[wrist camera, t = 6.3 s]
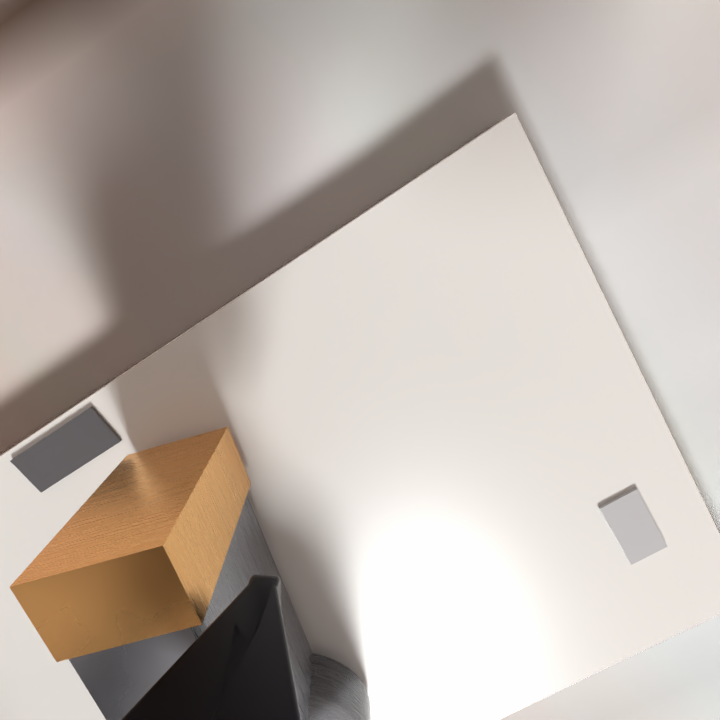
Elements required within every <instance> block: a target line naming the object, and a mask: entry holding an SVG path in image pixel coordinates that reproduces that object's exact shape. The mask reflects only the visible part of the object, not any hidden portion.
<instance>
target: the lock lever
mask: <svg viewBox="0 0 720 720" xmlns="http://www.w3.org/2000/svg"><path fill="white" fill-rule="evenodd" d="M250 485H251V482H250V479H249V477H248V475H247V472H246V470H245V467H244V465H243V462H242V460H241V458H240V455H239V453H238V450H237V448H236V445H235V443H234V440H233V438H232V436H231V433H230V431H229V428H228V427H224V428H221V429H217V430H214V431H210V432H207V433H203V434H200V435H196V436H193V437H189V438H185V439H182V440H178V441H175V442H171V443H168V444H164V445H161V446H157V447H154V448H150V449H147V450H143V451H140V452H136V453H132V454H129V455H127V456H126V457H125V458H124V459H123V460H122V461H121V462H120V464H119V465H118V466H117V467H116V468H115V469H114V470H113V471H112V473H111V474H110V475H109V476H108V477H107V478H106V479H105V480H104V481H103V483H102V484H101V485H100V486H99V487H98V488H97V489H96V490H95V492H94V493H93V494H92V495H91V496H90V497H89V498H88V499H87V501H86V502H85V503H84V504H83V505H82V506H81V507H80V508H79V510H78V511H77V512H76V513H75V514H74V515H73V516H72V517H71V518H70V520H69V521H68V522H67V523H66V524H65V525H64V526H63V527H62V529H61V530H60V531H59V532H58V533H57V534H56V535H55V536H54V538H53V539H52V540H51V541H50V542H49V543H48V544H47V545H46V546H45V548H44V549H43V550H42V551H41V552H40V553H39V554H38V555H37V557H36V558H35V559H34V560H33V561H32V562H31V563H30V564H29V566H28V567H27V568H26V569H25V570H24V571H23V572H22V573H21V575H20V576H19V577H18V578H17V579H16V580H15V581H14V582H13V583H12V585H11V586H10V587H9V588H10V589H11V591H12V592H13V594H14V595H15V597H16V599H17V600H18V602H19V603H20V605H21V607H22V608H23V610H24V611H25V613H26V615H27V616H28V618H29V619H30V621H31V622H32V624H33V626H34V627H35V629H36V630H37V632H38V634H39V635H40V637H41V638H42V640H43V641H44V643H45V645H46V646H47V648H48V649H49V651H50V653H51V654H52V656H53V657H54V659H55V661H56V662H60V661H64V660H67V659H69V661H70V662H71V664H72V666H73V667H74V669H75V670H76V672H77V674H78V675H79V677H80V679H81V680H82V682H83V683H84V685H85V687H86V688H87V690H88V691H89V693H90V695H91V696H92V698H93V700H94V701H95V703H96V704H97V706H98V708H99V709H100V711H101V712H102V714H103V716H104V717H105V719H106V720H121V719H122V718H123V717H124V716H125V715H126V714H127V713H128V712H129V711H130V710H131V709H132V708H133V707H134V706H135V705H136V703H137V702H138V701H139V700H140V699H141V698H142V697H143V696H144V695H145V694H146V693H147V692H148V691H149V690H150V689H151V687H152V686H153V685H154V684H155V683H156V682H157V681H158V680H159V679H160V678H161V677H162V676H163V675H164V674H165V673H166V671H167V670H168V669H169V668H170V667H171V666H172V665H173V664H174V663H175V662H176V661H177V660H178V659H179V658H180V657H181V656H182V654H183V653H184V652H185V651H186V650H187V649H188V648H189V647H190V646H191V645H192V644H193V643H194V642H195V641H196V640H197V638H198V637H199V636H200V635H201V634H202V633H203V632H204V631H205V630H206V629H207V628H208V627H209V626H210V625H211V624H212V622H213V621H214V620H215V619H216V618H217V617H218V616H219V615H220V614H221V613H222V612H223V611H224V610H225V609H226V608H227V606H228V605H229V604H230V603H231V602H232V601H233V600H234V599H235V598H236V597H237V596H238V595H239V594H240V593H241V592H242V590H243V589H244V588H245V587H246V586H247V585H248V583H249V580H250V578H251V577H252V576H253V575H254V574H261V575H277V576H279V577H280V579H281V611H282V617H283V622H284V628H285V633H286V639H287V644H288V650H289V655H290V661H291V666H292V672H293V677H294V683H295V688H296V694H297V699H298V705H299V710H300V716H301V720H371V714H370V700H369V695H368V692H367V690H366V688H365V686H364V684H363V682H362V681H361V680H360V678H359V677H358V676H357V675H356V674H355V673H354V672H353V671H352V670H351V669H349V668H348V667H347V666H345V665H343V664H342V663H340V662H338V661H336V660H334V659H332V658H329V657H326V656H323V655H318V654H314V653H312V650H311V648H310V645H309V643H308V641H307V638H306V636H305V633H304V631H303V629H302V626H301V624H300V621H299V619H298V617H297V614H296V612H295V609H294V607H293V605H292V602H291V600H290V597H289V595H288V593H287V590H286V588H285V585H284V583H283V581H282V578H281V576H280V573H279V571H278V569H277V566H276V564H275V561H274V559H273V557H272V554H271V552H270V549H269V547H268V545H267V542H266V540H265V537H264V535H263V533H262V530H261V528H260V525H259V523H258V521H257V518H256V516H255V513H254V511H253V509H252V506H251V504H250V501H249V499H248V497H247V493H248V491H249V488H250Z"/></svg>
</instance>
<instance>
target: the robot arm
mask: <svg viewBox="0 0 720 720" xmlns="http://www.w3.org/2000/svg"><path fill="white" fill-rule="evenodd" d="M121 720H301V716H300V710H299V705H298V699H297V694H296V688H295V683H294V677H293V672H292V666H291V661H290V655H289V650H288V644H287V639H286V633H285V628H284V622H283V617H282V611H281V579H280V577H279V576H277V575H261V574H254V575H253V576H252V577H251V578H250V580H249V583H248V585H247V586H246V587H245V588H244V589H243V590H242V592H241V593H240V594H239V595H238V596H237V597H236V598H235V599H234V600H233V601H232V602H231V603H230V604H229V605H228V606H227V608H226V609H225V610H224V611H223V612H222V613H221V614H220V615H219V616H218V617H217V618H216V619H215V620H214V621H213V622H212V624H211V625H210V626H209V627H208V628H207V629H206V630H205V631H204V632H203V633H202V634H201V635H200V636H199V637H198V638H197V640H196V641H195V642H194V643H193V644H192V645H191V646H190V647H189V648H188V649H187V650H186V651H185V652H184V653H183V654H182V656H181V657H180V658H179V659H178V660H177V661H176V662H175V663H174V664H173V665H172V666H171V667H170V668H169V669H168V670H167V671H166V673H165V674H164V675H163V676H162V677H161V678H160V679H159V680H158V681H157V682H156V683H155V684H154V685H153V686H152V687H151V689H150V690H149V691H148V692H147V693H146V694H145V695H144V696H143V697H142V698H141V699H140V700H139V701H138V702H137V703H136V705H135V706H134V707H133V708H132V709H131V710H130V711H129V712H128V713H127V714H126V715H125V716H124V717H123V718H122V719H121Z"/></svg>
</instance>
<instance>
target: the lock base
mask: <svg viewBox="0 0 720 720" xmlns="http://www.w3.org/2000/svg"><path fill="white" fill-rule="evenodd" d="M224 427H228V428H229V431H230V433H231V436H232V438H233V440H234V443H235V445H236V448H237V450H238V453H239V455H240V458H241V460H242V462H243V465H244V467H245V470H246V472H247V475H248V477H249V479H250V482H251V485H250V488H249V491H248V493H247V497H248V499H249V501H250V504H251V506H252V509H253V511H254V513H255V516H256V518H257V521H258V523H259V525H260V528H261V530H262V533H263V535H264V537H265V540H266V542H267V545H268V547H269V549H270V552H271V554H272V557H273V559H274V561H275V564H276V566H277V569H278V571H279V573H280V576H281V578H282V581H283V583H284V585H285V588H286V590H287V593H288V595H289V597H290V600H291V602H292V605H293V607H294V609H295V612H296V614H297V617H298V619H299V621H300V624H301V626H302V629H303V631H304V633H305V636H306V638H307V641H308V643H309V645H310V648H311V650H312V653H314V654H318V655H323V656H326V657H329V658H332V659H334V660H336V661H338V662H340V663H342V664H343V665H345V666H347V667H348V668H349V669H351V670H352V671H353V672H354V673H355V674H356V675H357V676H358V677H359V678H360V680H361V681H362V682H363V684H364V686H365V688H366V690H367V692H368V695H369V700H370V714H371V720H500V719H502V718H504V717H506V716H508V715H510V714H512V713H514V712H516V711H519V710H521V709H523V708H525V707H527V706H529V705H531V704H533V703H535V702H537V701H540V700H542V699H544V698H546V697H548V696H550V695H552V694H554V693H556V692H558V691H561V690H563V689H565V688H567V687H569V686H571V685H573V684H575V683H577V682H579V681H581V680H584V679H586V678H588V677H590V676H592V675H594V674H596V673H598V672H600V671H602V670H605V669H607V668H609V667H611V666H613V665H615V664H617V663H619V662H621V661H623V660H626V659H628V658H630V657H632V656H634V655H636V654H638V653H640V652H642V651H644V650H646V649H649V648H651V647H653V646H655V645H657V644H659V643H661V642H663V641H665V640H667V639H670V638H672V637H674V636H676V635H678V634H680V633H682V632H684V631H686V630H688V629H691V628H693V627H695V626H697V625H699V624H701V623H703V622H705V621H707V620H709V619H711V618H714V617H716V616H718V615H720V533H719V531H718V529H717V527H716V525H715V523H714V521H713V519H712V517H711V515H710V513H709V511H708V509H707V506H706V504H705V502H704V500H703V498H702V496H701V494H700V492H699V490H698V488H697V486H696V484H695V482H694V480H693V478H692V476H691V473H690V471H689V469H688V467H687V465H686V463H685V461H684V459H683V457H682V455H681V453H680V451H679V449H678V447H677V445H676V443H675V441H674V438H673V436H672V434H671V432H670V430H669V428H668V426H667V424H666V422H665V420H664V418H663V416H662V414H661V412H660V410H659V408H658V406H657V403H656V401H655V399H654V397H653V395H652V393H651V391H650V389H649V387H648V385H647V383H646V381H645V379H644V377H643V375H642V373H641V370H640V368H639V366H638V364H637V362H636V360H635V358H634V356H633V354H632V352H631V350H630V348H629V346H628V344H627V342H626V340H625V338H624V335H623V333H622V331H621V329H620V327H619V325H618V323H617V321H616V319H615V317H614V315H613V313H612V311H611V309H610V307H609V305H608V303H607V300H606V298H605V296H604V294H603V292H602V290H601V288H600V286H599V284H598V282H597V280H596V278H595V276H594V274H593V272H592V270H591V267H590V265H589V263H588V261H587V259H586V257H585V255H584V253H583V251H582V249H581V247H580V245H579V243H578V241H577V239H576V237H575V235H574V232H573V230H572V228H571V226H570V224H569V222H568V220H567V218H566V216H565V214H564V212H563V210H562V208H561V206H560V204H559V202H558V200H557V197H556V195H555V193H554V191H553V189H552V187H551V185H550V183H549V181H548V179H547V177H546V175H545V173H544V171H543V169H542V167H541V164H540V162H539V160H538V158H537V156H536V154H535V152H534V150H533V148H532V146H531V144H530V142H529V140H528V138H527V136H526V134H525V132H524V129H523V127H522V125H521V123H520V121H519V119H518V117H517V115H516V113H514V114H512V115H510V116H508V117H507V118H505V119H503V120H501V121H500V122H498V123H497V124H495V125H494V126H492V127H491V128H489V129H488V130H486V131H485V132H483V133H482V134H480V135H479V136H477V137H476V138H474V139H473V140H471V141H470V142H468V143H467V144H465V145H464V146H462V147H461V148H459V149H458V150H456V151H455V152H453V153H452V154H450V155H449V156H447V157H446V158H444V159H443V160H441V161H440V162H438V163H437V164H435V165H434V166H432V167H431V168H429V169H428V170H426V171H425V172H423V173H422V174H420V175H419V176H417V177H416V178H414V179H413V180H411V181H410V182H408V183H407V184H405V185H404V186H402V187H401V188H399V189H398V190H396V191H395V192H393V193H392V194H390V195H389V196H387V197H386V198H384V199H383V200H381V201H380V202H378V203H377V204H375V205H374V206H372V207H371V208H369V209H368V210H366V211H365V212H363V213H362V214H360V215H359V216H357V217H356V218H354V219H353V220H351V221H350V222H349V223H347V224H346V225H344V226H343V227H341V228H340V229H338V230H337V231H335V232H334V233H332V234H331V235H329V236H328V237H326V238H325V239H323V240H322V241H320V242H319V243H317V244H316V245H314V246H313V247H311V248H310V249H308V250H307V251H305V252H304V253H302V254H301V255H299V256H298V257H296V258H295V259H293V260H292V261H290V262H289V263H287V264H286V265H284V266H283V267H281V268H280V269H278V270H277V271H275V272H274V273H272V274H271V275H269V276H268V277H266V278H265V279H263V280H262V281H260V282H259V283H257V284H256V285H254V286H253V287H251V288H250V289H248V290H247V291H245V292H244V293H242V294H241V295H239V296H238V297H236V298H235V299H233V300H232V301H230V302H229V303H227V304H226V305H224V306H223V307H221V308H220V309H218V310H217V311H215V312H214V313H212V314H211V315H209V316H208V317H206V318H205V319H203V320H202V321H200V322H199V323H197V324H196V325H194V326H193V327H191V328H190V329H188V330H187V331H185V332H184V333H182V334H181V335H179V336H178V337H176V338H175V339H173V340H172V341H170V342H169V343H167V344H166V345H164V346H163V347H161V348H160V349H158V350H157V351H155V352H154V353H152V354H151V355H149V356H148V357H146V358H145V359H144V360H142V361H141V362H139V363H138V364H136V365H135V366H133V367H132V368H130V369H129V370H127V371H126V372H124V373H123V374H121V375H120V376H118V377H117V378H115V379H114V380H112V381H111V382H109V383H108V384H106V385H105V386H103V387H102V388H100V389H99V390H97V391H96V392H94V393H93V394H91V395H90V396H88V397H87V398H85V399H84V400H82V401H81V402H79V403H78V404H76V405H75V406H73V407H72V408H70V409H69V410H67V411H66V412H64V413H63V414H61V415H60V416H58V417H57V418H55V419H54V420H52V421H51V422H49V423H48V424H46V425H45V426H43V427H42V428H40V429H39V430H37V431H36V432H34V433H33V434H31V435H30V436H28V437H27V438H25V439H24V440H22V441H21V442H19V443H18V444H16V445H15V446H13V447H12V448H10V449H9V450H7V451H6V452H4V453H3V454H1V455H0V720H106V719H105V717H104V716H103V714H102V712H101V711H100V709H99V708H98V706H97V704H96V703H95V701H94V700H93V698H92V696H91V695H90V693H89V691H88V690H87V688H86V687H85V685H84V683H83V682H82V680H81V679H80V677H79V675H78V674H77V672H76V670H75V669H74V667H73V666H72V664H71V662H70V661H69V659H67V660H64V661H60V662H56V661H55V659H54V657H53V656H52V654H51V653H50V651H49V649H48V648H47V646H46V645H45V643H44V641H43V640H42V638H41V637H40V635H39V634H38V632H37V630H36V629H35V627H34V626H33V624H32V622H31V621H30V619H29V618H28V616H27V615H26V613H25V611H24V610H23V608H22V607H21V605H20V603H19V602H18V600H17V599H16V597H15V595H14V594H13V592H12V591H11V589H10V588H9V587H10V586H11V585H12V583H13V582H14V581H15V580H16V579H17V578H18V577H19V576H20V575H21V573H22V572H23V571H24V570H25V569H26V568H27V567H28V566H29V564H30V563H31V562H32V561H33V560H34V559H35V558H36V557H37V555H38V554H39V553H40V552H41V551H42V550H43V549H44V548H45V546H46V545H47V544H48V543H49V542H50V541H51V540H52V539H53V538H54V536H55V535H56V534H57V533H58V532H59V531H60V530H61V529H62V527H63V526H64V525H65V524H66V523H67V522H68V521H69V520H70V518H71V517H72V516H73V515H74V514H75V513H76V512H77V511H78V510H79V508H80V507H81V506H82V505H83V504H84V503H85V502H86V501H87V499H88V498H89V497H90V496H91V495H92V494H93V493H94V492H95V490H96V489H97V488H98V487H99V486H100V485H101V484H102V483H103V481H104V480H105V479H106V478H107V477H108V476H109V475H110V474H111V473H112V471H113V470H114V469H115V468H116V467H117V466H118V465H119V464H120V462H121V461H122V460H123V459H124V458H125V457H126V456H127V455H129V454H132V453H136V452H140V451H143V450H147V449H150V448H154V447H157V446H161V445H164V444H168V443H171V442H175V441H178V440H182V439H185V438H189V437H193V436H196V435H200V434H203V433H207V432H210V431H214V430H217V429H221V428H224Z"/></svg>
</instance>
